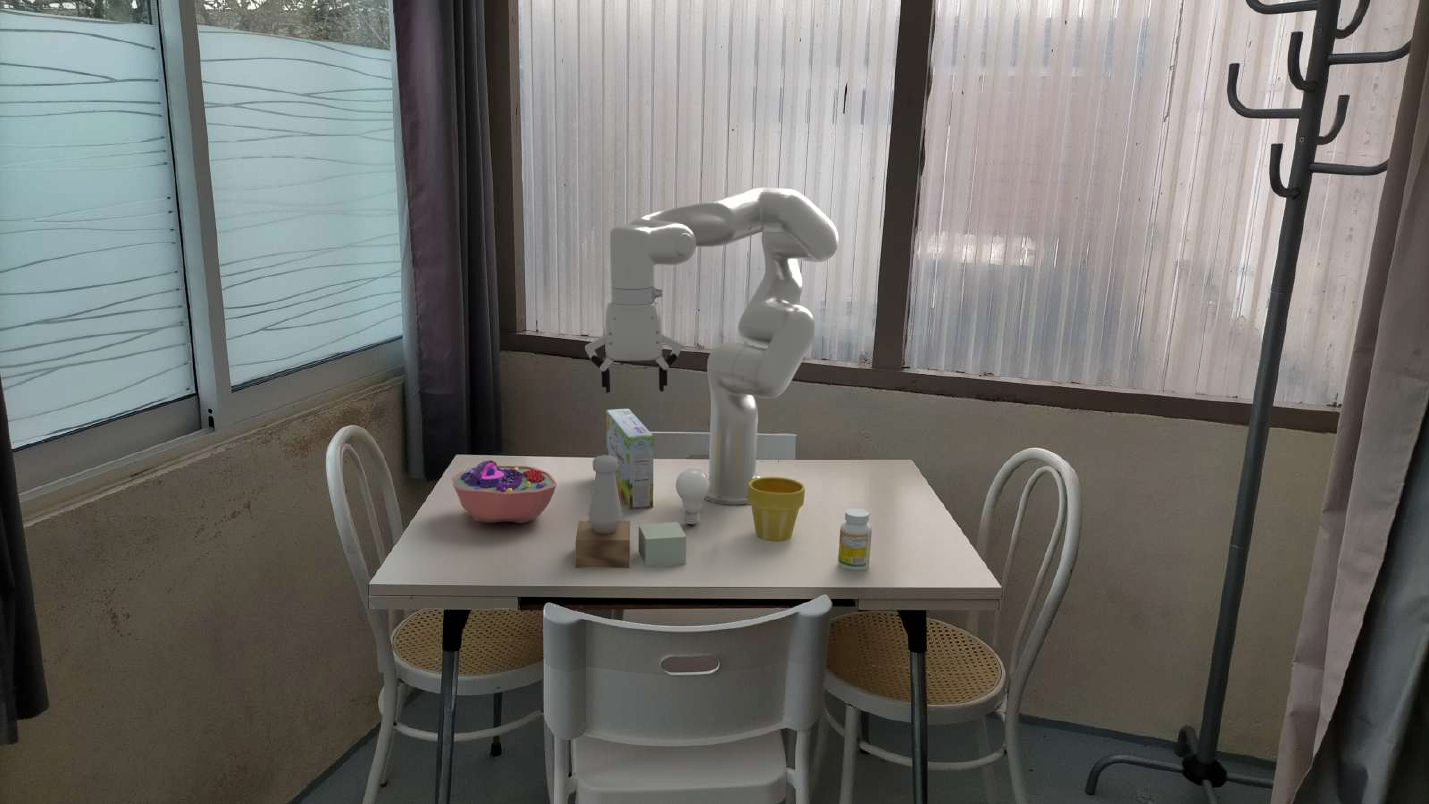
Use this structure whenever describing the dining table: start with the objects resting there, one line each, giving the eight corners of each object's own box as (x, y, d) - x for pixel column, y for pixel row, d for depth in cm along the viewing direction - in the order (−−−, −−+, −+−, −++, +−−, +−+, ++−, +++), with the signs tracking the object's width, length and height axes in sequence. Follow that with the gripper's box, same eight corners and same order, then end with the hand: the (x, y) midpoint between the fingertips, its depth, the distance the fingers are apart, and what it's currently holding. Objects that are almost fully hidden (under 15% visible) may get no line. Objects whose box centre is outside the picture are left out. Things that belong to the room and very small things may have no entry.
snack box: (604, 477, 219) (604, 408, 216) (629, 475, 221) (630, 407, 217) (627, 510, 200) (628, 435, 196) (655, 508, 202) (656, 434, 198)
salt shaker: (624, 524, 178) (625, 453, 175) (619, 536, 172) (619, 463, 169) (591, 522, 178) (592, 451, 175) (584, 534, 173) (584, 461, 170)
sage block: (677, 548, 181) (677, 522, 180) (685, 564, 175) (686, 536, 173) (638, 551, 179) (638, 524, 178) (645, 566, 173) (645, 539, 172)
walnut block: (629, 547, 181) (630, 521, 180) (629, 567, 172) (629, 540, 171) (578, 547, 180) (578, 520, 179) (575, 567, 172) (575, 539, 170)
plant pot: (788, 522, 196) (791, 474, 193) (811, 542, 186) (814, 491, 184) (738, 527, 192) (740, 478, 190) (758, 547, 183) (760, 495, 181)
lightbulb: (669, 521, 195) (671, 465, 192) (700, 517, 197) (702, 462, 194) (682, 532, 189) (683, 475, 186) (713, 528, 191) (715, 472, 189)
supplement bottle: (858, 573, 173) (861, 520, 171) (831, 565, 176) (835, 512, 174) (874, 564, 177) (878, 512, 175) (848, 556, 180) (852, 505, 178)
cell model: (528, 544, 181) (528, 483, 178) (433, 527, 188) (430, 468, 185) (573, 514, 197) (573, 457, 194) (483, 499, 203) (482, 444, 200)
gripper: (680, 292, 185) (681, 383, 189) (583, 293, 183) (586, 386, 188) (683, 299, 177) (684, 394, 182) (582, 301, 176) (586, 397, 180)
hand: (634, 390), depth 185 cm, fingers open, 9 cm apart
